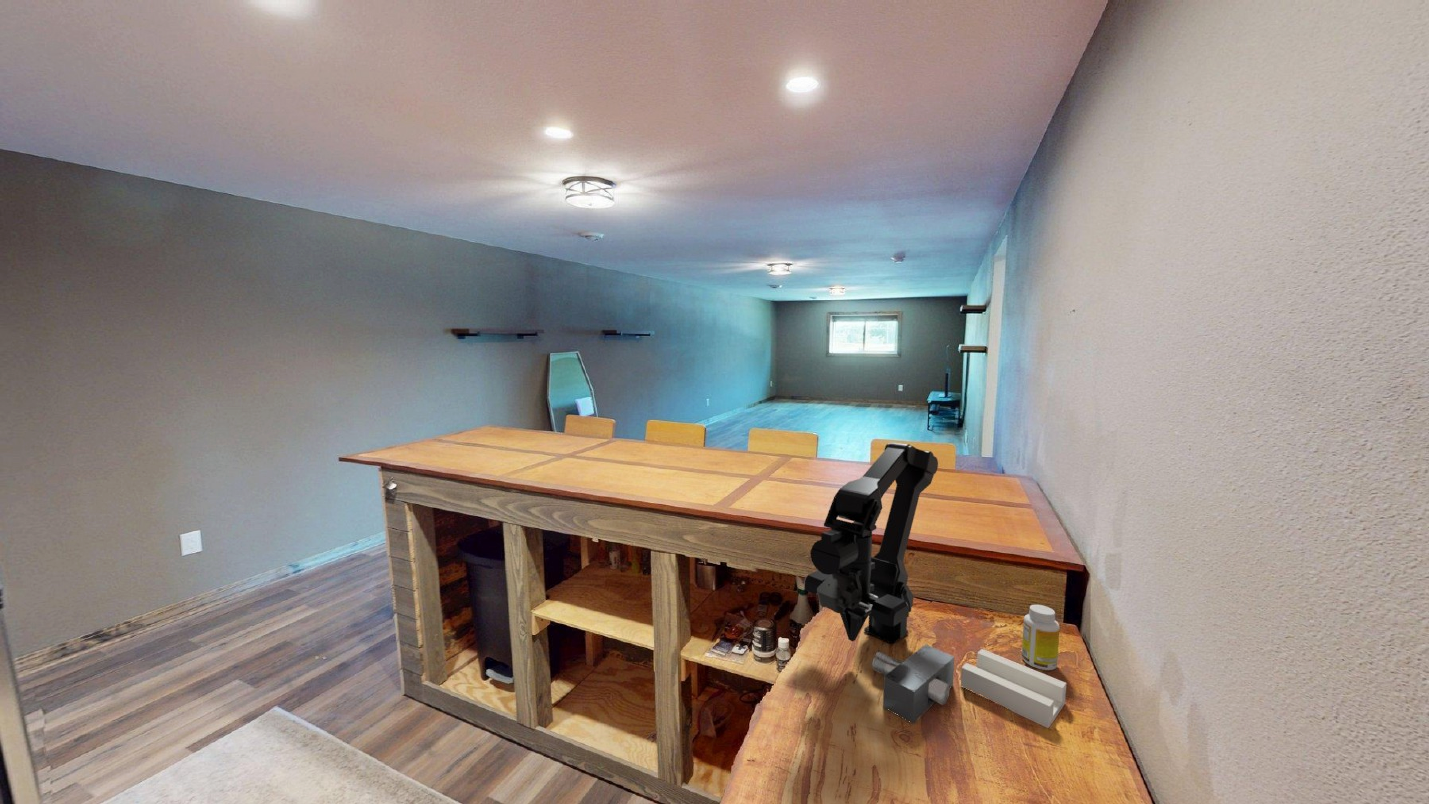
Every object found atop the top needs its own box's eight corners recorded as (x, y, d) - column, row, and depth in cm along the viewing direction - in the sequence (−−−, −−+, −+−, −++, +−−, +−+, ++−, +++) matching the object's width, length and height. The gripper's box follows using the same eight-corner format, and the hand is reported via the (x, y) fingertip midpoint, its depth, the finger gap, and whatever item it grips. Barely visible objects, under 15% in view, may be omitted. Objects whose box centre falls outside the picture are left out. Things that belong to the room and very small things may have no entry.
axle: (871, 671, 89) (874, 652, 90) (880, 668, 91) (883, 650, 92) (939, 706, 80) (942, 685, 81) (947, 702, 83) (950, 682, 83)
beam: (882, 707, 82) (884, 676, 81) (924, 672, 91) (925, 644, 91) (912, 723, 78) (914, 691, 78) (952, 685, 87) (954, 656, 87)
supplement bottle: (1063, 667, 93) (1067, 613, 92) (1045, 675, 91) (1048, 619, 90) (1033, 651, 98) (1036, 599, 97) (1014, 658, 96) (1017, 605, 95)
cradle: (960, 686, 87) (961, 667, 87) (980, 667, 93) (981, 648, 92) (1048, 728, 77) (1049, 706, 77) (1065, 703, 83) (1066, 682, 83)
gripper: (786, 553, 94) (784, 634, 96) (877, 588, 80) (874, 682, 82) (822, 539, 102) (820, 615, 103) (912, 569, 88) (908, 655, 89)
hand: (852, 639), depth 94 cm, fingers closed
